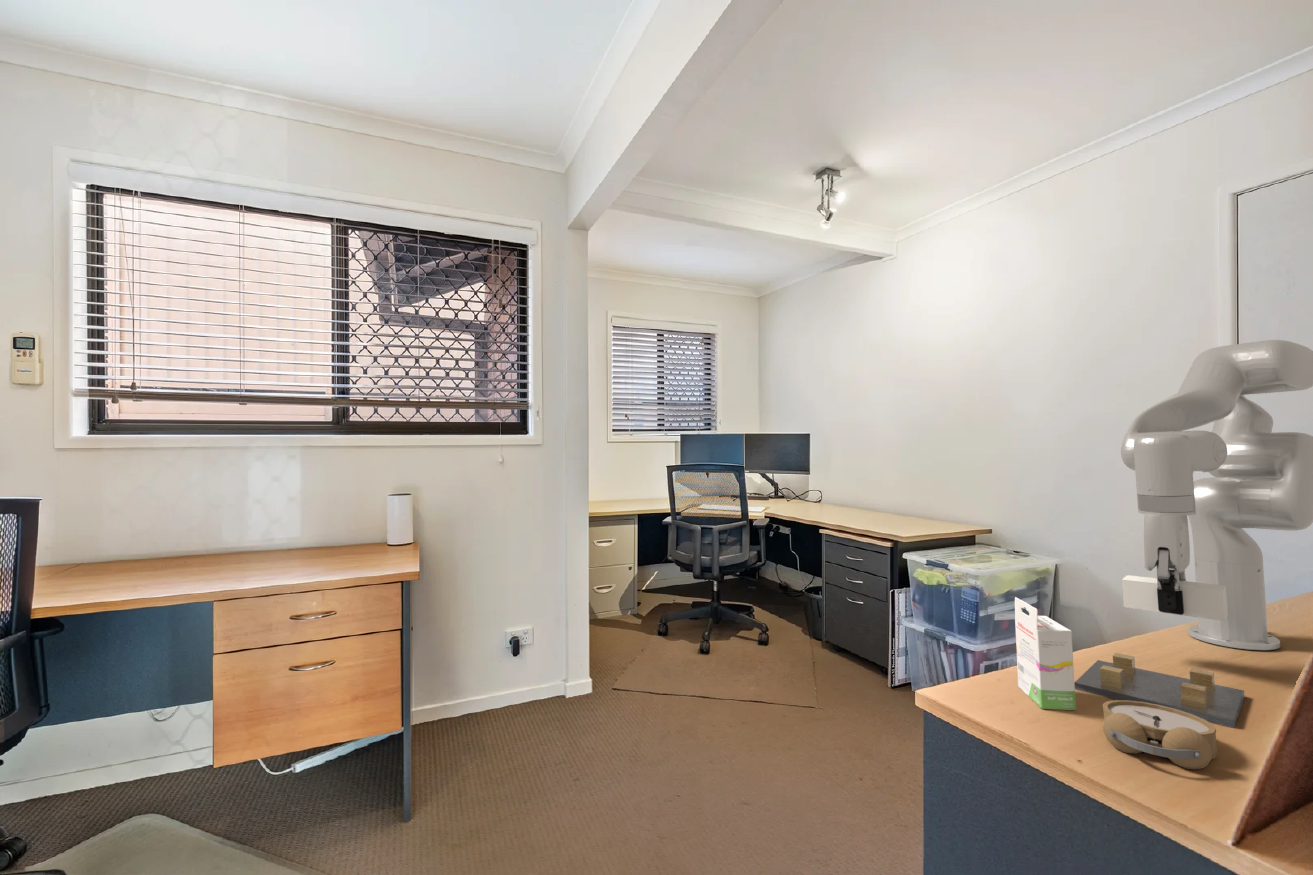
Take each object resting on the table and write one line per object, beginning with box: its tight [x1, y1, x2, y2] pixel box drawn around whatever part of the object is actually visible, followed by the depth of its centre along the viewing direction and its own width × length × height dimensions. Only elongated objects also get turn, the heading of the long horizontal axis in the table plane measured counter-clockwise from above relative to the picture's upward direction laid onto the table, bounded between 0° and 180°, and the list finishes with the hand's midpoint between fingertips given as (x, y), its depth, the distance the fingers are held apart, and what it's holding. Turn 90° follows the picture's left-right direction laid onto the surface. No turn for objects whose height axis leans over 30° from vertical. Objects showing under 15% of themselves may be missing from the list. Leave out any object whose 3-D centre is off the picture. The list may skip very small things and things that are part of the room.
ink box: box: [1014, 596, 1077, 711], centre depth 88 cm, size 9×5×15 cm, turn 168°
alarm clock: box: [1102, 699, 1218, 770], centre depth 73 cm, size 11×5×15 cm
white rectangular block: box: [1121, 574, 1228, 621], centre depth 99 cm, size 4×13×5 cm, turn 40°
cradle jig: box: [1074, 652, 1246, 729], centre depth 89 cm, size 14×18×4 cm
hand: (1173, 608), depth 99 cm, fingers closed on white rectangular block, 4 cm apart
